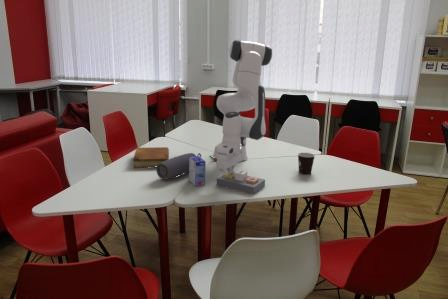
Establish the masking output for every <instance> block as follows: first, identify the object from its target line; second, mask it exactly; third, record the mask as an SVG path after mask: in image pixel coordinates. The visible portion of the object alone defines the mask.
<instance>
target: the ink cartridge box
mask: <svg viewBox="0 0 448 299" xmlns="http://www.w3.org/2000/svg"><path fill="white" fill-rule="evenodd" d="M188 180H189V181H190V182H191V183H192V185H194V186H195V187H198V186H205V185H206V160H205V159H203V158H202V154H201V153H197V155H196V156H193V157H189V171H188Z"/></svg>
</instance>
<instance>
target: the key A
mask: <svg viewBox="0 0 448 299" xmlns="http://www.w3.org/2000/svg"><path fill="white" fill-rule="evenodd" d="M223 175H224V177H225V178H229V179H233V178H235V172H234V173H232V174H231V175H229V174H228V172H226V173H224V174H223Z"/></svg>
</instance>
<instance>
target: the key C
mask: <svg viewBox="0 0 448 299" xmlns="http://www.w3.org/2000/svg"><path fill="white" fill-rule="evenodd" d="M254 177H255V176H251V177H249V178H247V179H246V182H247V183H251V184H256V183H257V182H258V178H259V177H256V178H254Z"/></svg>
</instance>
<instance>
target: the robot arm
mask: <svg viewBox="0 0 448 299" xmlns="http://www.w3.org/2000/svg"><path fill="white" fill-rule="evenodd" d="M228 51H229V52H228V54H229V57H230V59H231V60H233V61H234V62H236V64H235V66H234V71H233V76H232V79H231V80H232V84H233V85H234V86H235V87H236V88H237V91H236V92H227V93H224V94H221V95H218V96H217V99H216V107H217V110H219V112H221V113H222V114H223V119H222V121H223V122H222V128H221V129H222V139H221V142H219V143H218V144H217V145H216V146H215V147H214V150H213V152H211V154H213V155H211V154H210V155H211V156H213V157H215V158H214V159H216V168H217V169H218V170H220V171H225V170H226V171H227V173H228V174H229V175H231V174H232V173H235V172H234V171H235V168H236V165H237V164H238V163H240V162H243V161H244V162H245V161H247V160H248V155H247V148H246V146H247V145H246V144H247V139H251V140H255V141H258V140H260V139H262V138H263V137H264V136H265V135H266V131H267V124H266V123H267V122H266V92H265V87H264V86H263V85H262V82H261V74H262V67H263V66H267V65H269V64H270V62H271V61H272V59H273V49H272V47H271V46H270V45H267V44H263V43H259V42H255V41H249V40H241V39H235V40H233V41H232V42H231V44H230V46H229V50H228ZM253 109H254V117H253V118H252V117H245V116H241V114H240V112H248V111H251V110H253ZM213 157H212V158H213Z"/></svg>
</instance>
